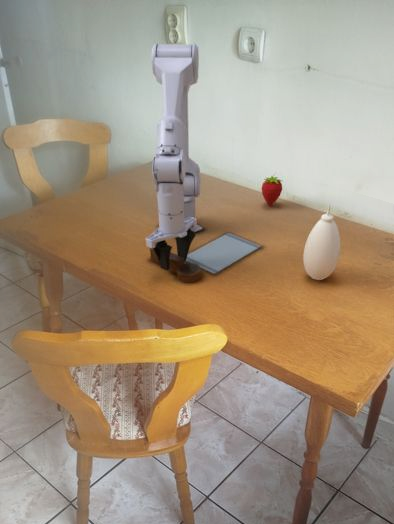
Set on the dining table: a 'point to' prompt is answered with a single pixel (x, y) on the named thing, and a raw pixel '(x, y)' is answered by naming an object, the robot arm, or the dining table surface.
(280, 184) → the strawberry
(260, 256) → the dining table surface
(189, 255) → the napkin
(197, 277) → the spoon
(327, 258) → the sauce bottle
